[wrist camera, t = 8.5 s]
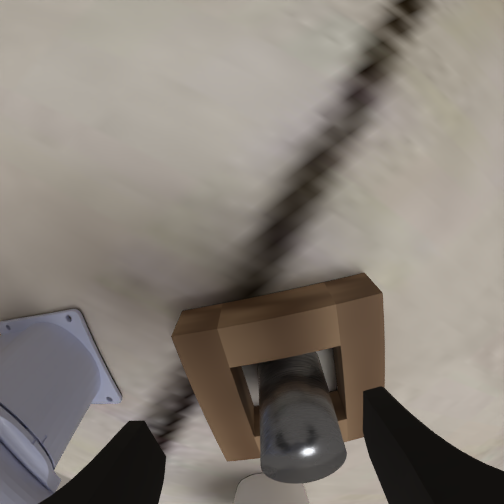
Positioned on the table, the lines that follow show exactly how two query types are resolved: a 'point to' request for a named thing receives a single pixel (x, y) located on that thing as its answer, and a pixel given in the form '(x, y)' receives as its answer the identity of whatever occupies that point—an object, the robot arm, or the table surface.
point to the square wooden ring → (282, 352)
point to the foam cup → (269, 491)
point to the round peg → (297, 421)
